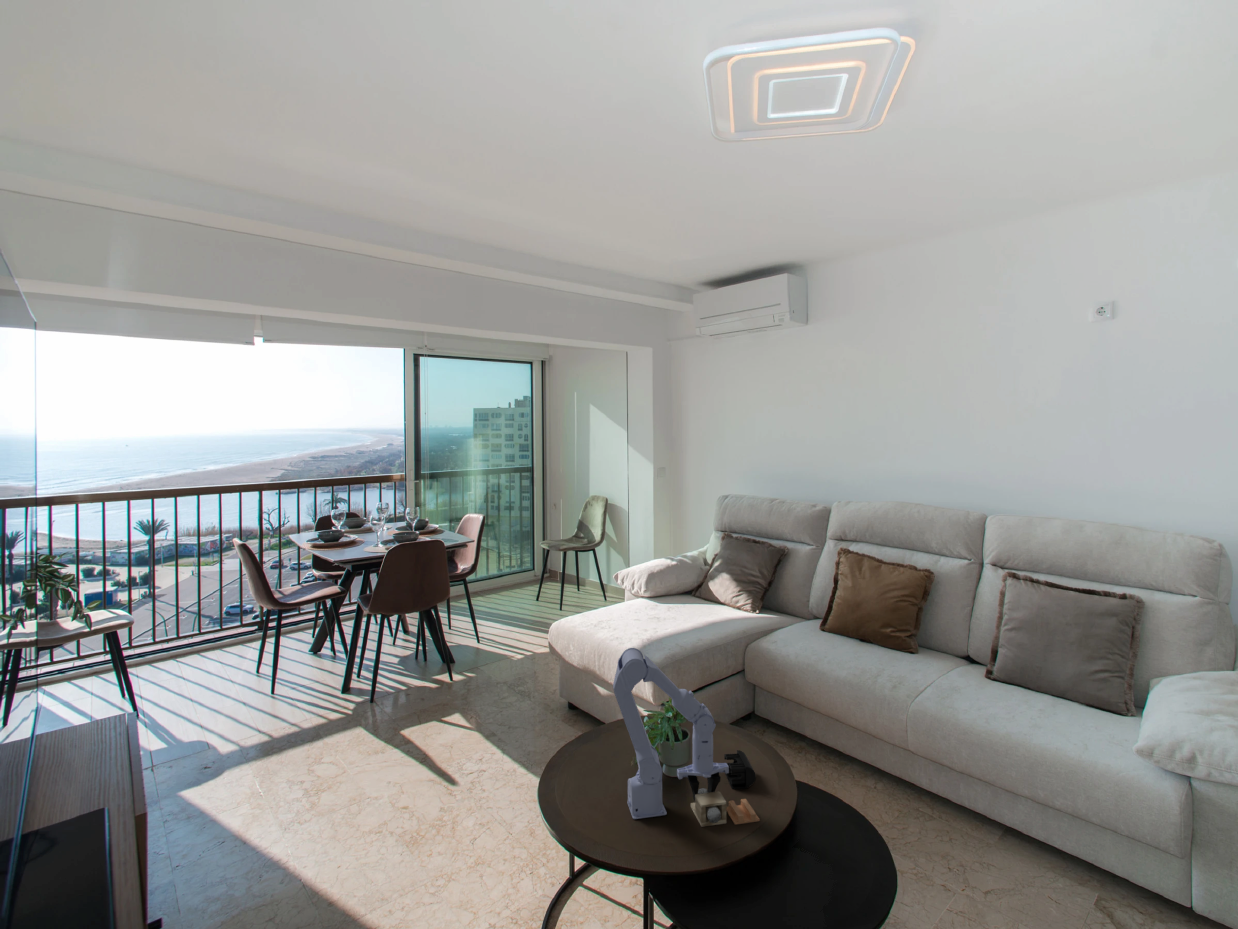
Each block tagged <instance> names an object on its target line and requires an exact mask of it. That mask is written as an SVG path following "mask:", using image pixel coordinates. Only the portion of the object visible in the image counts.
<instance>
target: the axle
mask: <svg viewBox="0 0 1238 929" xmlns="http://www.w3.org/2000/svg"><path fill="white" fill-rule="evenodd" d="M702 793H709V792H708V789H707V788H704V787H703V788H699V789H698V794H702ZM706 816H707V817H708V819H709V821H710V822H711V823H716V822H718V821H719V820H720V818H721V813H720V811H719V809H718V808H717V806H709V807H706Z"/></svg>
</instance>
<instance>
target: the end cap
mask: <svg viewBox="0 0 1238 929" xmlns="http://www.w3.org/2000/svg"><path fill="white" fill-rule="evenodd" d="M723 756H724V757H723V758H724V760H727V761H733V762H726V763H727V765H728V766H729V773H725V772H724V775H725V777H726V779H727V781H728V784H729V786H730V788H731V789H732V790H745V789H748V788H749V787H751V786H753V785H754V783H755V781H756V778H757V774H756V772H755V769H754V768H753V765H751V762H750V761H749V760H750V759H748V757H747V755H746V754H745V752H744V751H742V750H736V753H724V755H723Z"/></svg>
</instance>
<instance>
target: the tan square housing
mask: <svg viewBox="0 0 1238 929" xmlns="http://www.w3.org/2000/svg"><path fill="white" fill-rule="evenodd" d="M709 806H717V808H718V809H719V811H720V813H721V818H720V820H719V821H718V822H716V823H711V822H710V821H709V819H708V817H707V816H706V807H709ZM726 807H727V801H726V799H725V798H724V796H723V794H722V793H721V791H715V792H710V793H702V794H695V801H694V802H690V809H691V810H692V811H693V814H694V816H695V817H696V819H697V821H698V823H699V825H700V827H703V828H704V827H710V826H715V825H716V826H717V825H723V824H724V825H725V824H727V811H726Z"/></svg>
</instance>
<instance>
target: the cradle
mask: <svg viewBox="0 0 1238 929" xmlns="http://www.w3.org/2000/svg"><path fill="white" fill-rule="evenodd" d="M726 814H728V816H729V817H730V819H731V820H732V822H733V824H734V825H741V824H748V823H754V822H756V823H757V822H760V821H761V820H760V818H759V816H758V815H757V813H756V811H755V810H754V808H753V807H752V806H751V805H750V803H749V801H748V800H747V798H741V799H740V804H739V805H737V804H736V802H735V800H728V806H726Z"/></svg>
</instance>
